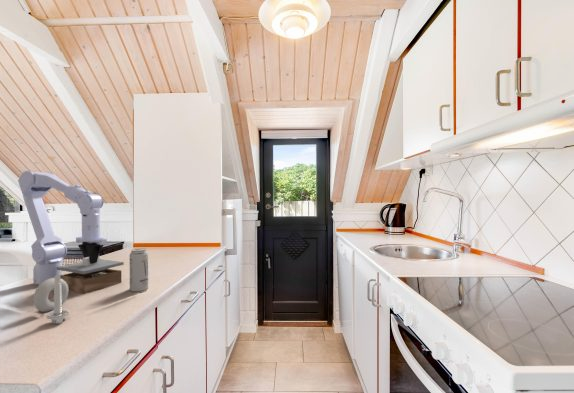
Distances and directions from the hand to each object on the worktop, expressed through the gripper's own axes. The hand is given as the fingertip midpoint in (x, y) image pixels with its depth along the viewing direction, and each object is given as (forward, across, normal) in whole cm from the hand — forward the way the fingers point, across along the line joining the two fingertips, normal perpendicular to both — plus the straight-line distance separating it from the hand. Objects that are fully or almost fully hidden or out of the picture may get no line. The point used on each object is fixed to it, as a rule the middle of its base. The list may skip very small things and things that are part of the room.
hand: (91, 262), depth 114 cm
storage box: (+9, 0, 0) cm, 9 cm away
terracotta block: (+8, -3, -4) cm, 10 cm away
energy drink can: (+9, +20, +4) cm, 23 cm away
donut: (+10, +12, -20) cm, 25 cm away
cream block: (+8, 0, +4) cm, 9 cm away
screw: (+9, +22, -24) cm, 34 cm away
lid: (+2, 0, 0) cm, 2 cm away
